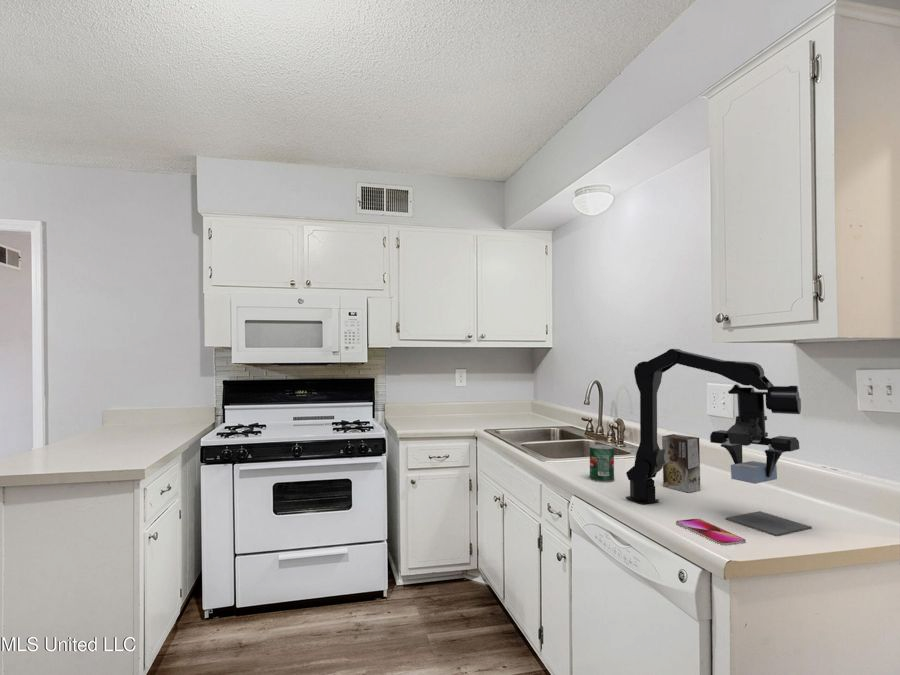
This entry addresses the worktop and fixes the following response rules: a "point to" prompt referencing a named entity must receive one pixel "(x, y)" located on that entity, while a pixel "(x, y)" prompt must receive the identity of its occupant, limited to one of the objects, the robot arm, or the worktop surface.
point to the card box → (752, 472)
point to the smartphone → (710, 532)
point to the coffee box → (681, 462)
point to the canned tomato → (602, 463)
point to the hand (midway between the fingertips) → (754, 474)
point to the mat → (768, 523)
